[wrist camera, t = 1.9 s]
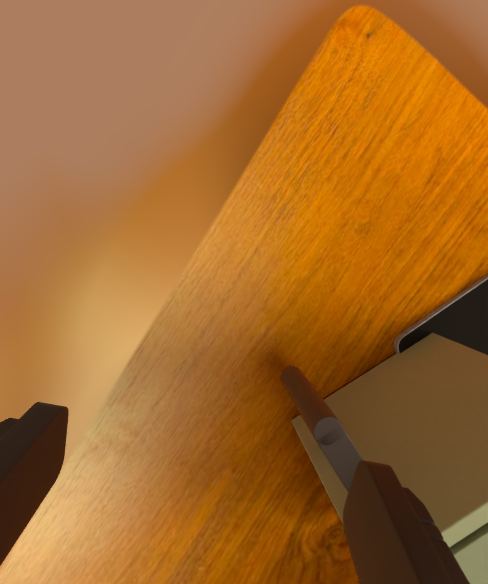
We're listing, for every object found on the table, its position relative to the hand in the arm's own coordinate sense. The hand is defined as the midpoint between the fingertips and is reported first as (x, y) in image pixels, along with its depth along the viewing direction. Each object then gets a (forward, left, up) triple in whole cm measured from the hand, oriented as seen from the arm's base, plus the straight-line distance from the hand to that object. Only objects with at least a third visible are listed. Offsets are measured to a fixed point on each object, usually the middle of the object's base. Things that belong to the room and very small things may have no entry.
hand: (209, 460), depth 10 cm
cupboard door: (+10, +9, -21) cm, 25 cm away
